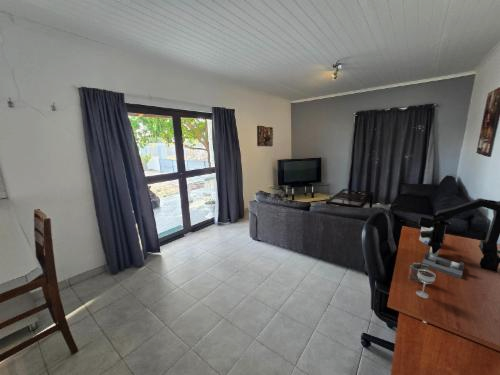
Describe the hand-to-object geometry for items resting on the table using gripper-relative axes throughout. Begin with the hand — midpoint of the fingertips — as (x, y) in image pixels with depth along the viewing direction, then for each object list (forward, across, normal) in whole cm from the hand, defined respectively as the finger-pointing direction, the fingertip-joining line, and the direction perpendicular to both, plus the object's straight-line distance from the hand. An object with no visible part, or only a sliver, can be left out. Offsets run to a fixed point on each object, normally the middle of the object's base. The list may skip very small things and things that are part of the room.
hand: (434, 252), depth 137 cm
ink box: (+2, -16, -6) cm, 17 cm away
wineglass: (+2, +49, +2) cm, 49 cm away
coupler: (+2, 0, 0) cm, 2 cm away
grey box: (+2, +38, -2) cm, 38 cm away
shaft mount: (+2, +13, +6) cm, 14 cm away
